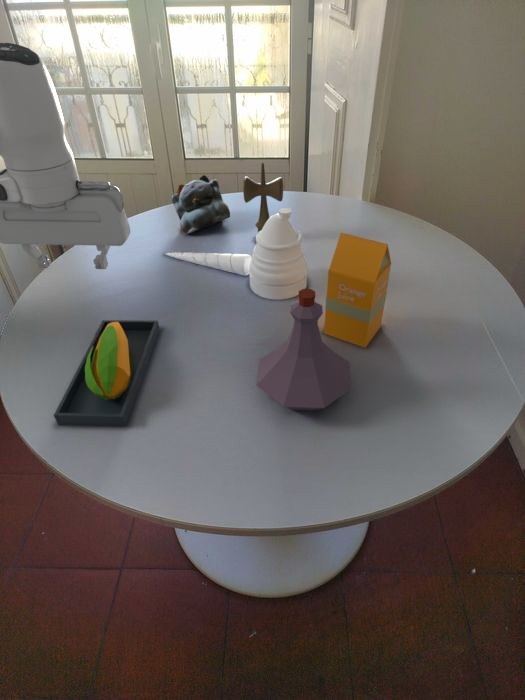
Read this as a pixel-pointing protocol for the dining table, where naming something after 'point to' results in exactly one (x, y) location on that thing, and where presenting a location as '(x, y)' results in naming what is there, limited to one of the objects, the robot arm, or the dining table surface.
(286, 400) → the flask
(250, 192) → the kendama
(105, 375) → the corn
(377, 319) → the orange juice
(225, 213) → the lucky cat figurine
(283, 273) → the honey pot
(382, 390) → the dining table surface
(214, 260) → the unicorn horn
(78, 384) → the tray
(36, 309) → the dining table surface
